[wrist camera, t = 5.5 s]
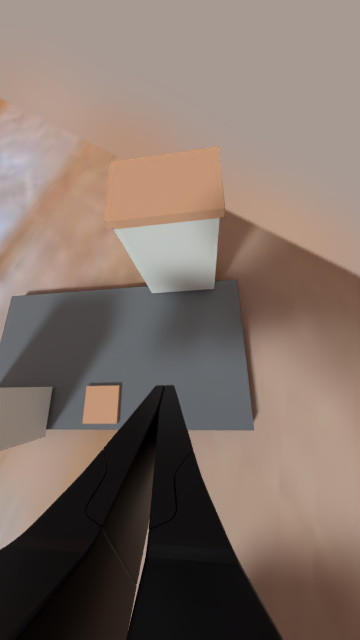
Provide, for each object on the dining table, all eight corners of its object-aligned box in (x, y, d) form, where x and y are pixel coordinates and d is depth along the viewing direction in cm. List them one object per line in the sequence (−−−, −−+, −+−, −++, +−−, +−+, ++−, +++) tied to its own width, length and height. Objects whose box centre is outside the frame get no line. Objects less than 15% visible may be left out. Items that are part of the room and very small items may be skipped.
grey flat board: (250, 427, 17) (254, 431, 16) (-8, 426, 20) (-25, 429, 18) (235, 285, 21) (237, 277, 20) (21, 300, 24) (9, 295, 22)
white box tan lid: (216, 290, 19) (225, 208, 10) (150, 295, 20) (103, 222, 11) (213, 250, 21) (218, 146, 12) (151, 256, 21) (110, 162, 12)
